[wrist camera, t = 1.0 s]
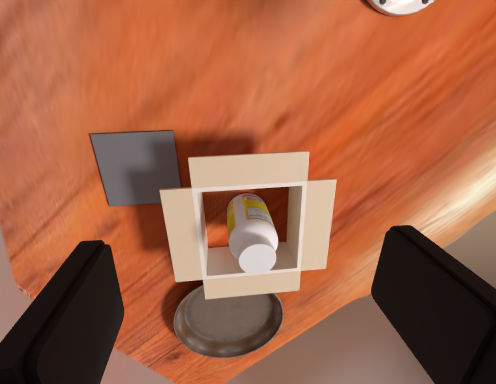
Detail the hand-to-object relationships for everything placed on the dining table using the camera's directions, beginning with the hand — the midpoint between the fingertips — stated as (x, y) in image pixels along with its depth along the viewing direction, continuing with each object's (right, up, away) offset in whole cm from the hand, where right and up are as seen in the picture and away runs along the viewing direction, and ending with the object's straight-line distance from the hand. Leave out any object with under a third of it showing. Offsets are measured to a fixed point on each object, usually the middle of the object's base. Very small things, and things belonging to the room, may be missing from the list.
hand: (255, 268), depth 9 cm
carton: (0, 0, +35) cm, 35 cm away
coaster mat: (-16, +6, +30) cm, 35 cm away
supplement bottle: (0, 0, +35) cm, 35 cm away
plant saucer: (-4, -20, +44) cm, 49 cm away
